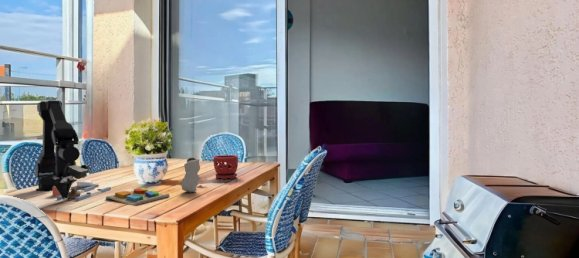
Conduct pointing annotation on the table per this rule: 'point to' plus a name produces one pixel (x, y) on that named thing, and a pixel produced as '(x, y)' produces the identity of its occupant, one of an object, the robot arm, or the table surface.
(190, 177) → the figurine
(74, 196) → the pawn
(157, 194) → the shape sorting puzzle
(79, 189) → the dome base
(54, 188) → the die
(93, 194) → the lane
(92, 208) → the table surface
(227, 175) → the plant pot
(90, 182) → the dome
